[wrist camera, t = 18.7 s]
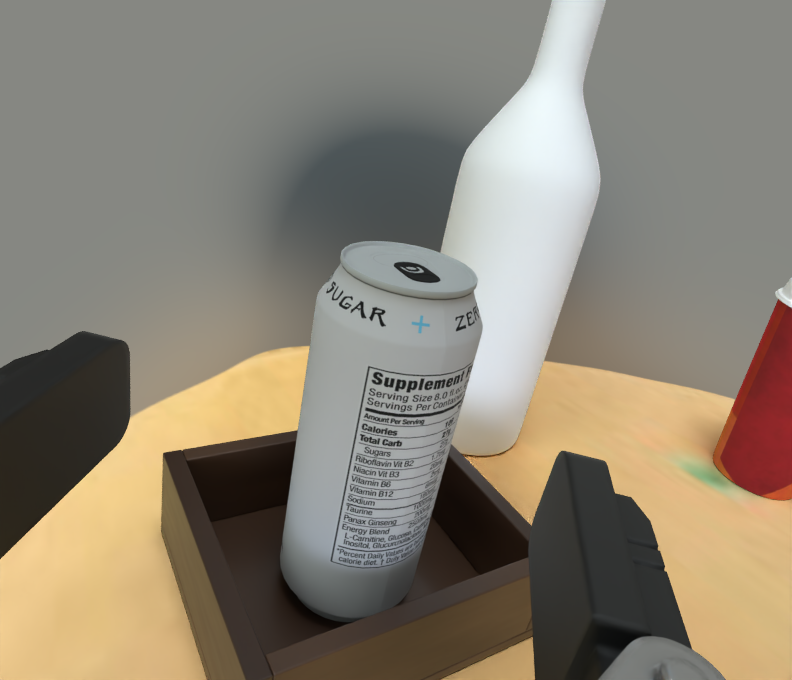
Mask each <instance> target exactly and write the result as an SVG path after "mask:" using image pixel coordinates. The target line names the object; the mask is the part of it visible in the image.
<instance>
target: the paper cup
mask: <svg viewBox="0 0 792 680" xmlns="http://www.w3.org/2000/svg"><path fill="white" fill-rule="evenodd" d="M775 295H776V297H777V298H778V301H777V303H776V306H775V308H774V311H773V313H772V315H771V318H770V320H769V323H768V325H767V327H766V329H765V332H764V334H763V336H762V339H761V341H760V343H759V346H758V348H757V351H756V353H755V355H754V358H753V360H752V362H751V365H750V367H749V369H748V372H747V374H746V377H745V379H744V381H743V384H742V386H741V388H740V390H739V393H738V395H737V398H736V400H735V402H734V405H733V407H732V409H731V412H730V414H729V417H728V419H727V421H726V424H725V426H724V429H723V431H722V434H721V436H720V439H719V441H718V444H717V446H716V449H715V452H714V455H713V461H714V464H715V465H716V467H717V468H718V470H719V471H720V472H721V473H722V474H723V475H724V476H726V477H727V478H728V479H729V480H731V481H732V482H734V483H735V484H737V485H738V486H740V487H742V488H744V489H746V490H748V491H750V492H752V493H754V494H757V495H760V496H763V497H766V498H770V499H775V500H788V499H791V498H792V278H791V279H790V280H789V281H788V283H787V284H786V285H785V287H783V288H780V289H778V290H777V291H776V292H775Z"/></svg>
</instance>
